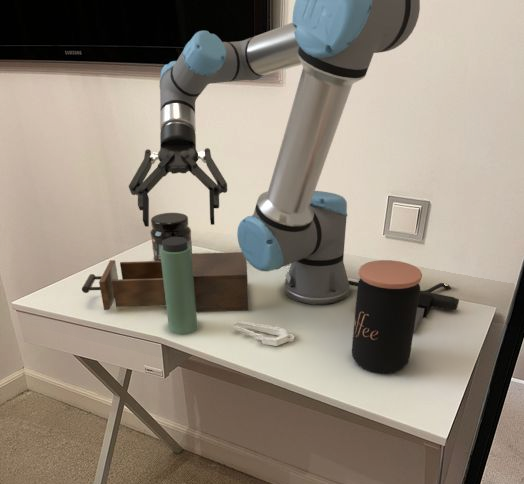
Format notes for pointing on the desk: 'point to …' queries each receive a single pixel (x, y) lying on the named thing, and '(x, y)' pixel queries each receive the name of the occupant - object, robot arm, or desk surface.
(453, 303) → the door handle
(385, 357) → the coffee jar
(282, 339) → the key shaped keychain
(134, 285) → the drawer
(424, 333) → the desk surface
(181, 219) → the supplement container
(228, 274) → the cabinet
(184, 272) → the bottle
